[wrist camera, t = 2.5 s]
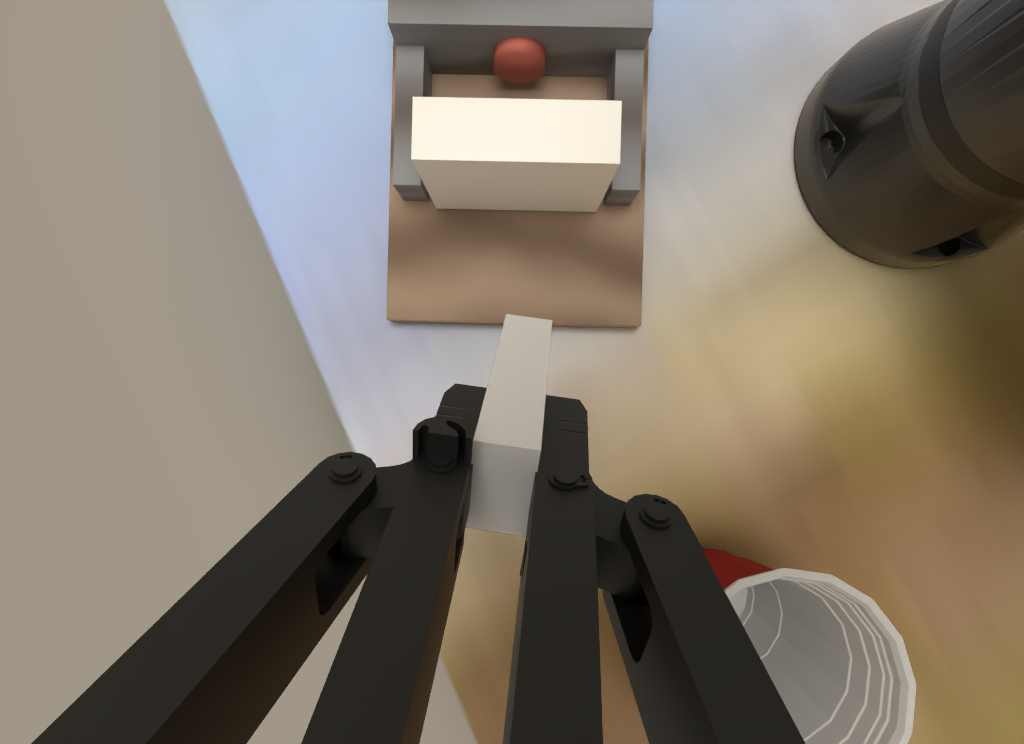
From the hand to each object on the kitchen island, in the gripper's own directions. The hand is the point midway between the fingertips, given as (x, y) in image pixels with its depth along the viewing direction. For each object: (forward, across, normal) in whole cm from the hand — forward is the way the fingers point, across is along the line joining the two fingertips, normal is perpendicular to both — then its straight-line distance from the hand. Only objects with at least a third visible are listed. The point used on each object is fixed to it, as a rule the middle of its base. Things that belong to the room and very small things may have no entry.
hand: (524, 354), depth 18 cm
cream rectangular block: (+19, -2, +1) cm, 19 cm away
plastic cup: (+9, +14, -21) cm, 26 cm away
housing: (+22, -2, +2) cm, 22 cm away
